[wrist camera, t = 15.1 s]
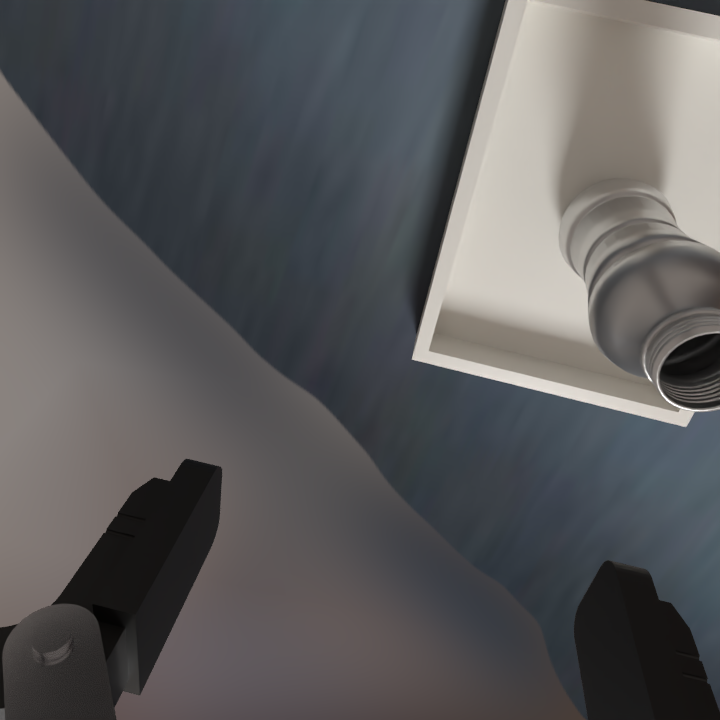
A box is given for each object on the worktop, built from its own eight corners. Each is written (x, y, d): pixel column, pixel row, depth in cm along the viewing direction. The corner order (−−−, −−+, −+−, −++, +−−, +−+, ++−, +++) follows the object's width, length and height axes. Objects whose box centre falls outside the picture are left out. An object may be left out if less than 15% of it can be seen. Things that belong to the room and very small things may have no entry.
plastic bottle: (667, 253, 40) (814, 426, 22) (562, 277, 42) (623, 455, 24) (656, 156, 37) (815, 270, 20) (544, 188, 39) (600, 316, 22)
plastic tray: (511, -23, 35) (515, -28, 31) (860, 51, 34) (904, 55, 30) (416, 334, 47) (411, 359, 43) (669, 396, 46) (685, 427, 42)
